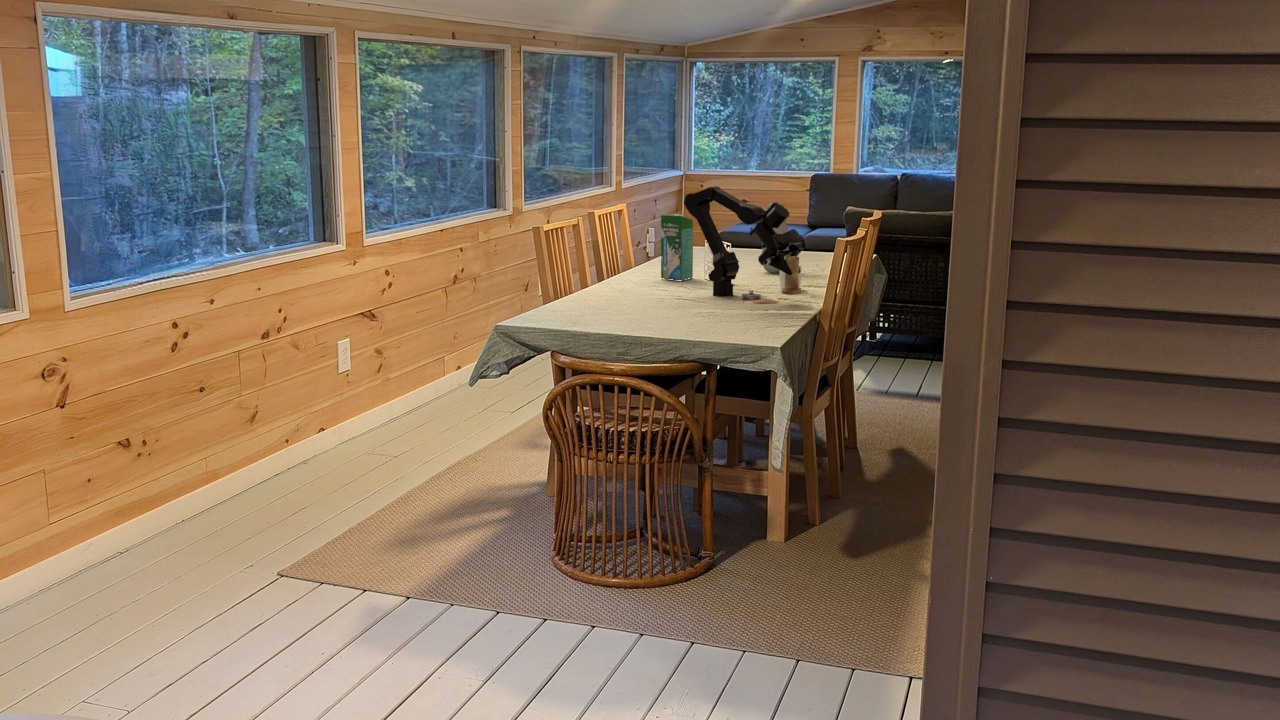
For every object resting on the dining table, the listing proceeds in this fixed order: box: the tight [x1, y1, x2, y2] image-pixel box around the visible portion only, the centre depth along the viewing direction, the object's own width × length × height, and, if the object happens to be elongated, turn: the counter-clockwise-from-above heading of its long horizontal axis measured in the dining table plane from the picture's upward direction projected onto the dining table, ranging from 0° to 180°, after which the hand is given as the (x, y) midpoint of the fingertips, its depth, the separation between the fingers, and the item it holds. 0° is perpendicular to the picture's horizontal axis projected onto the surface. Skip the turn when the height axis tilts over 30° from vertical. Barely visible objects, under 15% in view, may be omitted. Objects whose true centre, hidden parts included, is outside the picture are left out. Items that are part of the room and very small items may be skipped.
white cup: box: [779, 263, 803, 292], centre depth 401 cm, size 8×8×10 cm
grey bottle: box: [761, 201, 789, 274], centre depth 446 cm, size 10×10×28 cm
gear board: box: [741, 296, 780, 305], centre depth 381 cm, size 12×14×1 cm
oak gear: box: [781, 256, 802, 296], centre depth 371 cm, size 6×6×12 cm
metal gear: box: [741, 289, 762, 300], centre depth 383 cm, size 6×7×3 cm
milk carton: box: [660, 213, 694, 281], centre depth 432 cm, size 9×9×25 cm
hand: (795, 273), depth 370 cm, fingers closed on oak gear, 4 cm apart
